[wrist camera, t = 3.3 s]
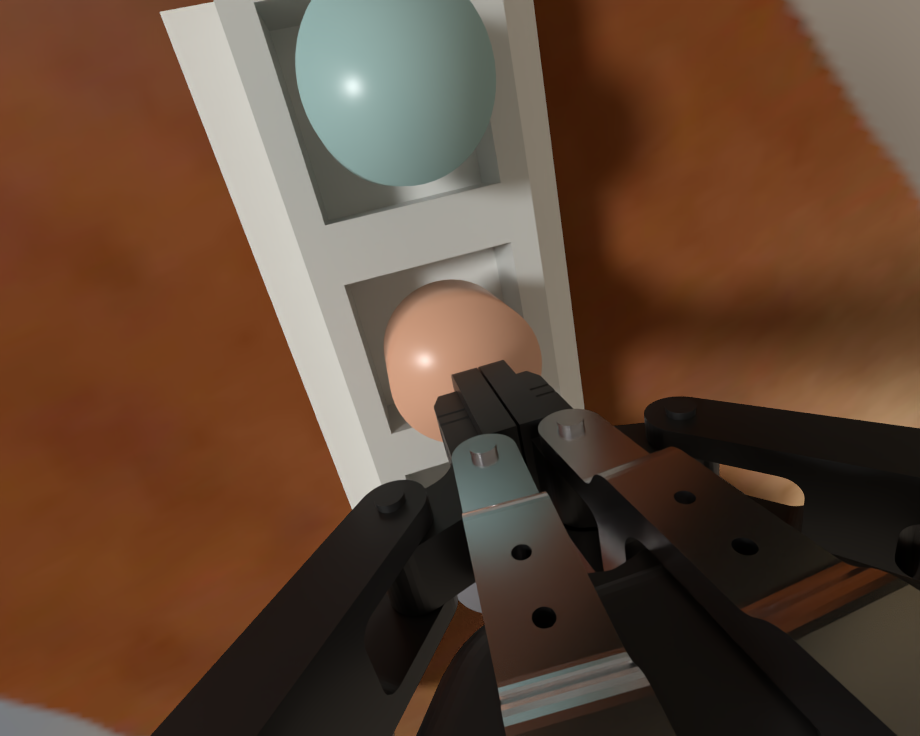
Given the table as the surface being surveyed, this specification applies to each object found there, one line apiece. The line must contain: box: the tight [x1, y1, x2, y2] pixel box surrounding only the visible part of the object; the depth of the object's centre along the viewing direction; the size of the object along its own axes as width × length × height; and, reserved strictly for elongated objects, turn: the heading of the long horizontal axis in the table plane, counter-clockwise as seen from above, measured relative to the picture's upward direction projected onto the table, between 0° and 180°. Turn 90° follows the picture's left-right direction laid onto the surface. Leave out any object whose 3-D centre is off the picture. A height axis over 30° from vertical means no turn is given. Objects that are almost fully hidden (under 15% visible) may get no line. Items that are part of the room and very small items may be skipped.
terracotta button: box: [383, 279, 542, 442], centre depth 16 cm, size 5×5×3 cm
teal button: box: [295, 0, 496, 186], centre depth 13 cm, size 5×5×3 cm
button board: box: [160, 0, 584, 510], centre depth 19 cm, size 24×12×4 cm, turn 12°
